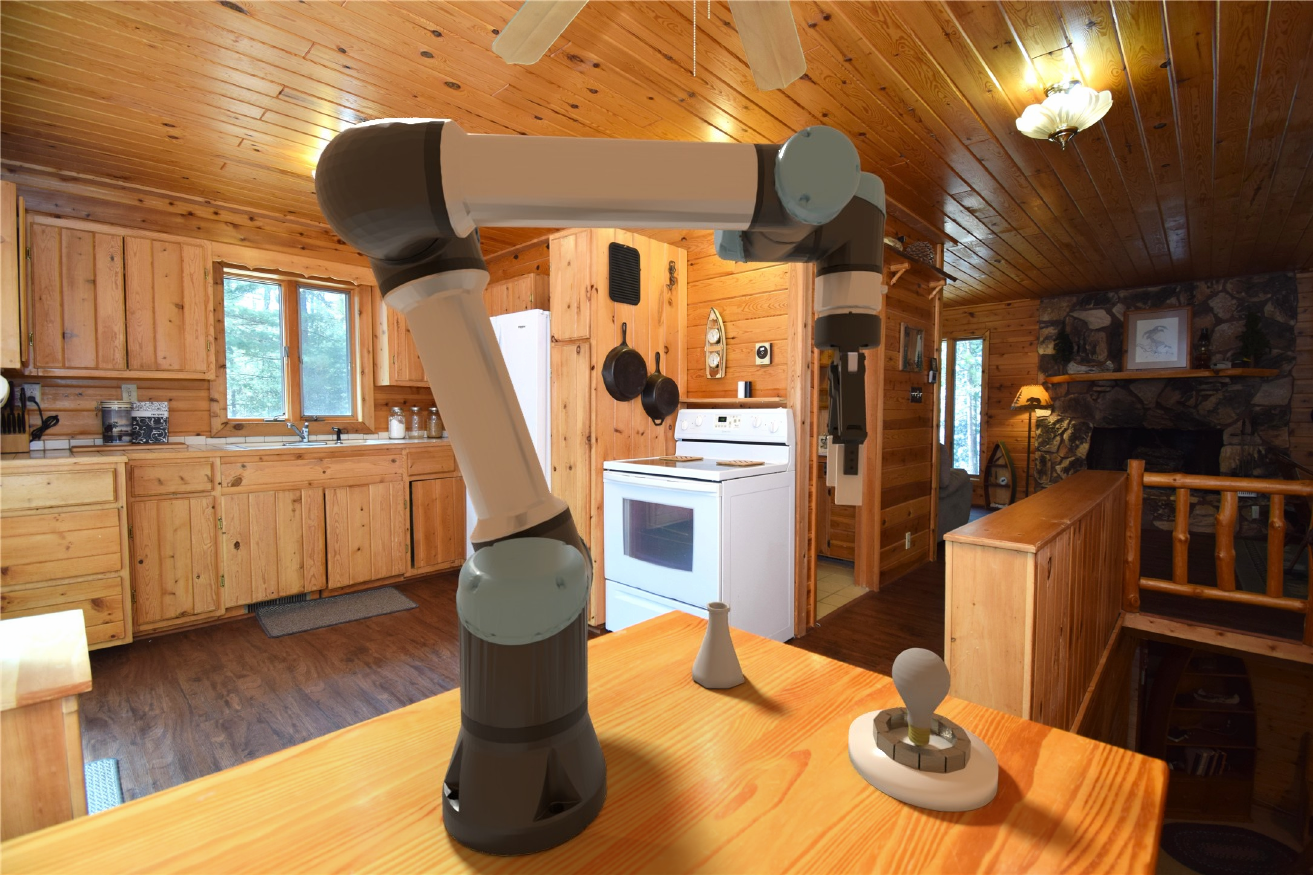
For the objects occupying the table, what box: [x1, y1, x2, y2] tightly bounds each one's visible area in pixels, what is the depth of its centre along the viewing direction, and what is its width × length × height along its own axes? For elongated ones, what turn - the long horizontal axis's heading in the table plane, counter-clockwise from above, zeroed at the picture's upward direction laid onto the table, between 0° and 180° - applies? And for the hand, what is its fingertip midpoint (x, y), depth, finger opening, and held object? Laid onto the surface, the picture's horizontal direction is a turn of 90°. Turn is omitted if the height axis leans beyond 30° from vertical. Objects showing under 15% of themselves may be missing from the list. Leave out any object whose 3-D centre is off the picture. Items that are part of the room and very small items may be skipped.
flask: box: [691, 601, 746, 689], centre depth 79 cm, size 7×7×10 cm
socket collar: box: [873, 706, 971, 774], centre depth 60 cm, size 9×9×2 cm
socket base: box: [847, 709, 999, 813], centre depth 60 cm, size 14×14×2 cm
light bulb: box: [891, 647, 951, 746], centre depth 60 cm, size 6×6×10 cm
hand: (842, 494), depth 70 cm, fingers open, 13 cm apart
